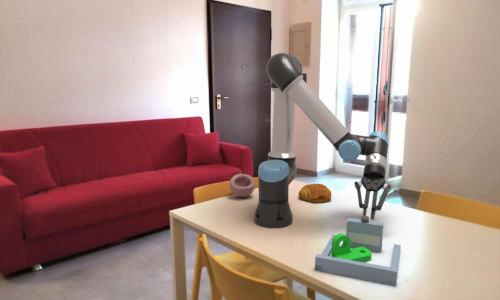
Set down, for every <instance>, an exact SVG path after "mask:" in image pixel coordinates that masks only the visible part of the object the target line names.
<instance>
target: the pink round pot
mask: <svg viewBox="0 0 500 300" xmlns="http://www.w3.org/2000/svg"><path fill="white" fill-rule="evenodd" d="M229 180H230V181H229V189H230V191H231V192H232V194H233V195H234V196H236V197H238V198H247V197H248V196H250V195H252V194H253V192H254V191H255V186H256V181H255V179H254V178H253V177H252V175H250V174H245V173H238V174H235V175H233V176H232V177H231V178H230V179H229Z"/></svg>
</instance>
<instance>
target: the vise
mask: <svg viewBox="0 0 500 300" xmlns="http://www.w3.org/2000/svg"><path fill="white" fill-rule="evenodd" d="M335 235H336V234H332V235H331V237H330V238H329V240H328V242H327V244H325V247H324V249H323V251H322V252H321V254H320V253H316V255H315V258H314V270H315V271H320V272H325V273H329V274H334V275H340V276H344V277H350V278H354V279H355V278H356V279H360V280H365V281H369V282H374V283H381V284H386V285H391V286H397V280H398V271H399V263H400V254H401V244H396V243H395V244H393V248H392V255H391V261H390V266H387V265H386V266H385V265H380V264H374V263H368V262H358V261H353V260H347V259H342V258H336V257H331V250H332V240H333V238H334V236H335Z"/></svg>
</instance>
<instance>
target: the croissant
mask: <svg viewBox="0 0 500 300" xmlns="http://www.w3.org/2000/svg"><path fill="white" fill-rule="evenodd" d="M298 196H299V198H300V200H303V201H305V202H308V201H309V203H310V204H312V203H314V204H319V203H320V204H321V203H323V202H324V203H327V202H330V201H332V191H331V190H330V188H328V187H327V186H326V185H324V184H323V183H310V184H309V183H308V184H306V185H305V184H304V185H303V187H301V189H300V190H299V192H298Z"/></svg>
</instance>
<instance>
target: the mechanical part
mask: <svg viewBox="0 0 500 300" xmlns="http://www.w3.org/2000/svg"><path fill="white" fill-rule="evenodd" d="M334 235H335V236H334V238H333V240H332V250H331V254H330V257H336V258H342V259H347V260H353V261H358V262H364V263H368V262H370V261H371V260H372V252H373V251H370V250H368V249H367V248H365V247H363V246H362V247H357V248H351V247H350V244H351V241H350V238H349V237H348V236H346V234H345V233H342V232H339V233H337V234H334ZM340 243H341V245H340Z"/></svg>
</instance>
